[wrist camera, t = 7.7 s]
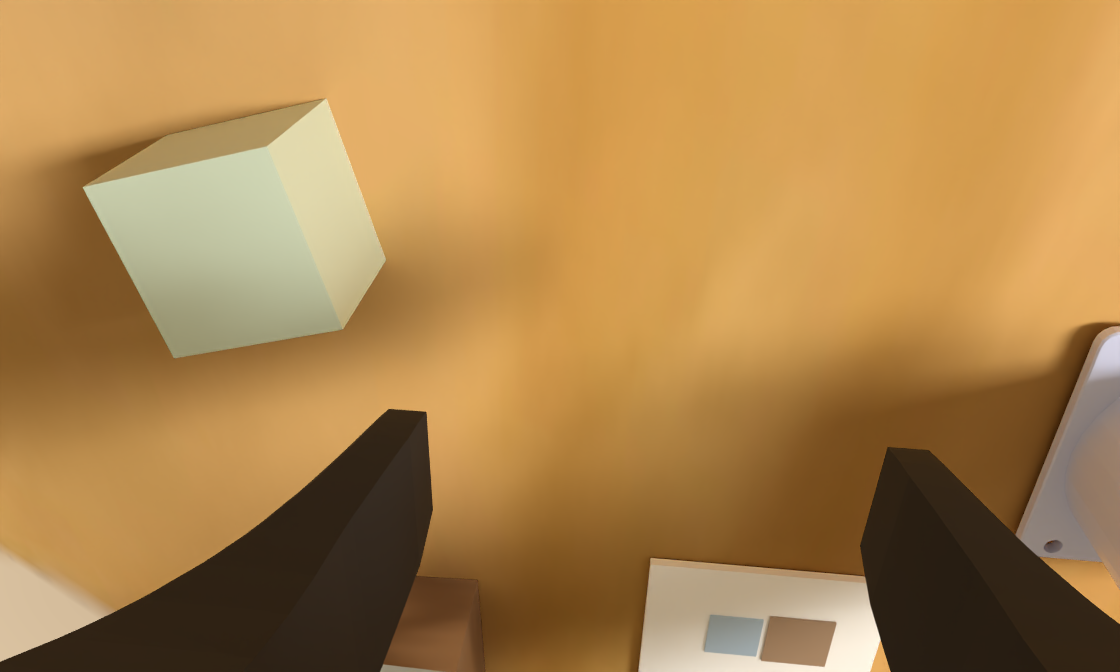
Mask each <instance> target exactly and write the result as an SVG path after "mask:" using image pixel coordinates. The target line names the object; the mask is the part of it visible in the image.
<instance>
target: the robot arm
mask: <svg viewBox="0 0 1120 672" xmlns="http://www.w3.org/2000/svg"><path fill="white" fill-rule="evenodd" d="M432 511H433V505H432V490H431V475H430V460H429V445H428V429H427V414H426V412H421V411H408V410H395V409H388V410H387V411H386V412H385V413H384V414H382V415H381V416H380V417H379V418H378V419H377V420H376V421H375V422H374V423H373V424H372V425H371V426H370V427H369V428H368V429H367V430H366V431H365V432H364V433H363V434H362V435H361V436H360V437H359V438H357V439H356V440H355V441H354V442H353V443H352V444H351V445H350V446H349V447H348V448H347V449H346V450H345V451H344V452H343V453H342V454H341V455H340V456H339V457H338V458H336V459H335V460H334V461H333V462H332V463H331V464H330V465H329V466H328V467H327V468H325V469H324V470H323V471H322V472H321V473H320V474H319V475H318V476H317V477H315V478H314V479H313V480H312V481H311V482H310V483H309V484H308V485H307V486H305V487H304V488H303V489H302V490H301V491H300V492H298V493H297V494H296V495H295V496H294V497H292V498H291V499H290V500H289V501H287V502H286V503H285V504H284V505H283V506H281V507H280V508H279V509H278V510H276V511H275V512H274V513H273V514H271V515H270V516H269V517H268V518H267V519H265V520H264V521H263V522H261V523H260V524H259V525H257V526H256V527H255V528H253V529H252V530H251V531H249V532H248V533H247V534H245V535H244V536H243V537H241V538H240V539H238V540H237V541H235V542H234V543H232V544H231V545H229V546H228V547H226V548H225V549H223V550H222V551H220V552H219V553H217V554H216V555H215V556H213V557H211V558H210V559H208V560H207V561H205V562H204V563H202V564H200V565H199V566H197V567H195V568H193V569H192V570H190V571H188V572H187V573H185V574H183V575H181V576H180V577H178V578H176V579H174V580H173V581H171V582H169V583H168V584H166V585H164V586H162V587H161V588H159V589H157V590H156V591H154V592H152V593H150V594H149V595H147V596H145V597H143V598H141V599H139V600H137V601H135V602H133V603H131V604H129V605H127V606H125V607H124V608H122V609H120V610H118V611H116V612H114V613H112V614H110V615H108V616H105V617H103V618H101V619H99V620H97V621H95V622H93V623H91V624H89V625H86V626H85V627H82V628H80V629H78V630H76V631H73V632H71V633H69V634H67V635H64V636H62V637H60V638H58V639H55V640H53V641H50V642H48V643H45V644H43V645H40V646H38V647H36V648H33V649H31V650H28V651H26V652H23V653H21V654H18V655H16V656H13V657H11V658H8V659H6V660H4V661H1V662H0V672H380V671H381V668H382V666H383V663H384V660H385V658H386V655H387V652H388V650H389V647H390V644H391V642H392V639H393V636H394V634H395V631H396V628H397V626H398V623H399V620H400V618H401V615H402V612H403V610H404V607H405V604H406V602H407V599H408V596H409V594H410V591H411V588H412V585H413V583H414V580H415V577H416V574H417V572H418V569H419V566H420V562H421V558H422V554H423V550H424V546H425V542H426V537H427V533H428V529H429V524H430V520H431V515H432ZM1052 540H1055V541H1054V542H1052V543H1048V544H1046V543H1047V542H1049V541H1052ZM860 547H861V554H862V560H863V566H864V573H865V579H866V584H867V590H868V595H869V601H870V606H871V609H872V613H873V616H874V619H875V623H876V626H877V629H878V632H879V636H880V639H881V642H882V645H883V649H884V652H885V655H886V658H887V661H888V665H889V668H890V671H891V672H1120V624H1119V623H1117V622H1116V621H1115V620H1113V619H1112V618H1111V617H1109V616H1108V615H1107V614H1105V613H1104V612H1103V611H1102V610H1100V609H1099V608H1098V607H1097V606H1095V605H1094V604H1093V603H1092V602H1090V601H1089V600H1088V599H1087V598H1085V597H1084V596H1083V595H1082V594H1081V593H1079V592H1078V591H1077V590H1076V589H1075V588H1074V587H1073V586H1071V585H1070V584H1069V583H1068V582H1067V581H1066V580H1064V579H1063V578H1062V577H1061V576H1060V575H1059V574H1057V573H1056V572H1055V571H1054V570H1053V569H1052V568H1050V567H1049V566H1048V565H1047V564H1046V563H1045V562H1044V561H1043V560H1041V559H1040V558H1039V557H1048V558H1060V559H1072V560H1084V561H1096V562H1103V564H1104V565H1105V567H1106V568H1107V570H1108V572H1109V573H1110V575H1111V577H1112V578H1113V580H1114V581H1115V583H1116V585H1117V586H1118V588H1119V589H1120V326H1113V327H1110V328H1107V329H1105V330H1103V331H1102V332H1100V333H1099V334H1098V335H1097V336H1096V338H1095V339H1094V341H1093V343H1092V346H1091V348H1090V351H1089V353H1088V356H1087V358H1086V361H1085V363H1084V366H1083V368H1082V371H1081V373H1080V376H1079V378H1078V381H1077V383H1076V386H1075V388H1074V391H1073V393H1072V395H1071V398H1070V400H1069V403H1068V405H1067V408H1066V410H1065V413H1064V415H1063V418H1062V420H1061V423H1060V425H1059V428H1058V430H1057V433H1056V435H1055V438H1054V440H1053V443H1052V445H1051V448H1050V450H1049V453H1048V455H1047V458H1046V460H1045V463H1044V465H1043V468H1042V470H1041V473H1040V475H1039V477H1038V480H1037V482H1036V485H1035V487H1034V490H1033V492H1032V495H1031V497H1030V500H1029V502H1028V505H1027V507H1026V510H1025V512H1024V515H1023V517H1022V520H1021V522H1020V525H1019V527H1018V530H1017V532H1016V535H1014V534H1013V533H1012V532H1011V531H1010V530H1009V529H1008V528H1007V527H1006V526H1005V525H1004V524H1003V523H1002V522H1001V521H1000V520H999V519H998V518H997V517H996V516H995V515H994V514H993V513H992V512H991V511H990V510H989V509H988V508H987V507H986V506H985V505H984V504H983V503H982V502H981V501H980V500H979V499H978V498H977V497H976V496H975V495H974V494H973V493H972V492H971V491H970V490H969V489H968V488H967V487H966V486H965V485H964V484H963V483H962V482H961V481H960V480H959V479H958V478H957V477H956V476H955V475H954V474H953V473H952V472H951V471H950V470H949V469H948V468H947V467H946V466H945V465H944V464H943V463H941V462H940V461H939V460H938V459H937V458H936V457H935V456H934V455H933V454H932V453H931V452H930V451H929V450H918V449H905V448H892V447H888V448H887V452H886V455H885V459H884V463H883V466H882V470H881V473H880V477H879V480H878V484H877V488H876V491H875V495H874V498H873V502H872V505H871V509H870V513H869V516H868V520H867V523H866V527H865V530H864V534H863V538H862V541H861V545H860Z"/></svg>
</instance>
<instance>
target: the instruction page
mask: <svg viewBox="0 0 1120 672" xmlns="http://www.w3.org/2000/svg"><path fill="white" fill-rule="evenodd" d="M879 642H880V636H879V632H878V629H877V626H876V623H875V619H874V616H873V613H872V609H871V606H870V601H869V595H868V590H867V584H866V579H865V576H854V575H843V574H831V573H820V572H808V571H796V570H785V569H773V568H762V567H750V566H739V565H727V564H715V563H704V562H692V561H681V560H669V559H658V558H651V560H650V569H649V578H648V587H647V596H646V605H645V614H644V623H643V632H642V641H641V650H640V659H639V668H638V672H870V670H871V667H872V664H873V661H874V658H875V655H876V652H877V648H878V645H879Z"/></svg>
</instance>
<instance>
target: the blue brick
mask: <svg viewBox="0 0 1120 672" xmlns="http://www.w3.org/2000/svg"><path fill="white" fill-rule="evenodd" d="M380 672H443V671H435V670H426V669H418V668H409V667H400V666H392V665H383V666H382V668H381V671H380Z"/></svg>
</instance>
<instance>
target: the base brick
mask: <svg viewBox="0 0 1120 672" xmlns="http://www.w3.org/2000/svg"><path fill="white" fill-rule="evenodd" d="M383 665H392V666H400V667H409V668H418V669H426V670H435V671H443V672H486V671H485V660H484V649H483V637H482V626H481V614H480V603H479V591H478V580H471V579H454V578H438V577H421V576H416V577H415V580H414V583H413V585H412V588H411V591H410V594H409V596H408V599H407V602H406V604H405V607H404V610H403V612H402V615H401V618H400V620H399V623H398V626H397V628H396V631H395V634H394V636H393V639H392V642H391V644H390V647H389V650H388V652H387V655H386V658H385V660H384V663H383Z"/></svg>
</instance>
